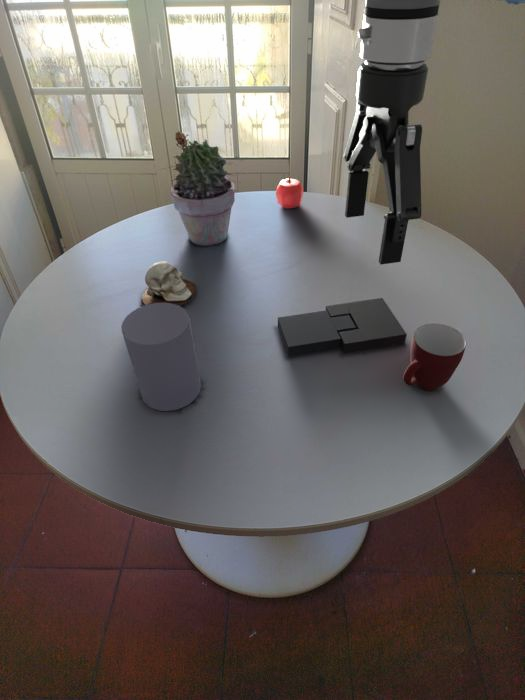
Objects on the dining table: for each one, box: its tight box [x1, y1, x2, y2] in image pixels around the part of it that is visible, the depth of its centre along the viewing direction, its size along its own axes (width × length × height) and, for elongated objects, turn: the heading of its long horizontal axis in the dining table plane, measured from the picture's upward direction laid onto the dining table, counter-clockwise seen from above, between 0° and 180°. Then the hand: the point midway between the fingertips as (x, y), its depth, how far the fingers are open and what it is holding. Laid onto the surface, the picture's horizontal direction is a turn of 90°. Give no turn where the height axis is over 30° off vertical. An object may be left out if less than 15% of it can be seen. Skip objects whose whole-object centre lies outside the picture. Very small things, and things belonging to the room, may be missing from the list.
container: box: [121, 303, 202, 412], centre depth 77 cm, size 10×10×15 cm
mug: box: [402, 323, 467, 392], centre depth 77 cm, size 10×8×10 cm
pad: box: [277, 309, 356, 358], centre depth 90 cm, size 9×14×2 cm, turn 101°
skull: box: [141, 261, 198, 307], centre depth 102 cm, size 12×10×10 cm
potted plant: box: [159, 130, 240, 247], centre depth 114 cm, size 18×20×25 cm
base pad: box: [325, 297, 407, 355], centre depth 91 cm, size 12×12×2 cm
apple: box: [275, 177, 305, 209], centre depth 132 cm, size 8×8×8 cm
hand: (370, 237), depth 66 cm, fingers open, 13 cm apart
